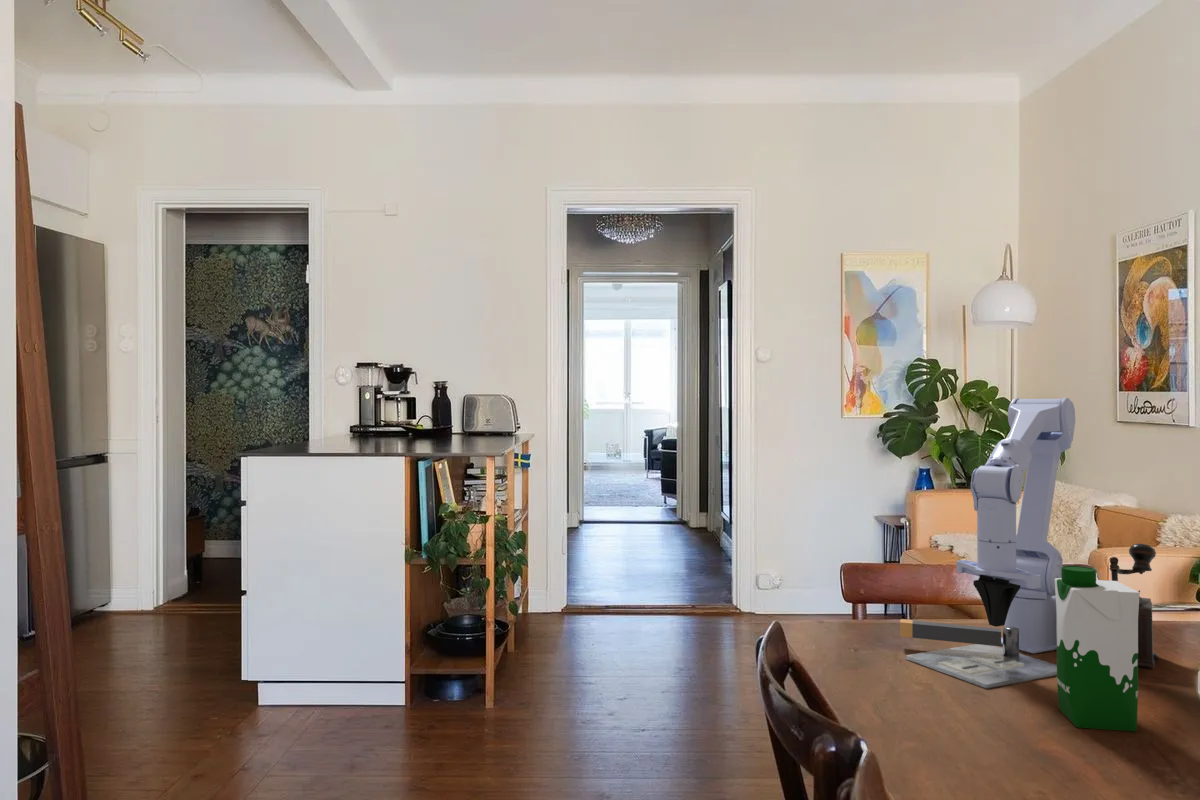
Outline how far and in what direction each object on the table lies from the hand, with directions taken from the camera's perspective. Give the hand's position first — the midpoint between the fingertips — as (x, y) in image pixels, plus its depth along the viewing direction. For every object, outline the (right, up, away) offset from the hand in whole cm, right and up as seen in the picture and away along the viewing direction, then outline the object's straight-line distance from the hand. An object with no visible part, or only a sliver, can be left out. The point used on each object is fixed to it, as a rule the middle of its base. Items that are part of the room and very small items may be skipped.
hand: (996, 625), depth 136 cm
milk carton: (+2, -6, -24) cm, 25 cm away
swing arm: (-5, -4, +7) cm, 10 cm away
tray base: (-2, -6, 0) cm, 7 cm away
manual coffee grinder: (+24, -7, +7) cm, 25 cm away
